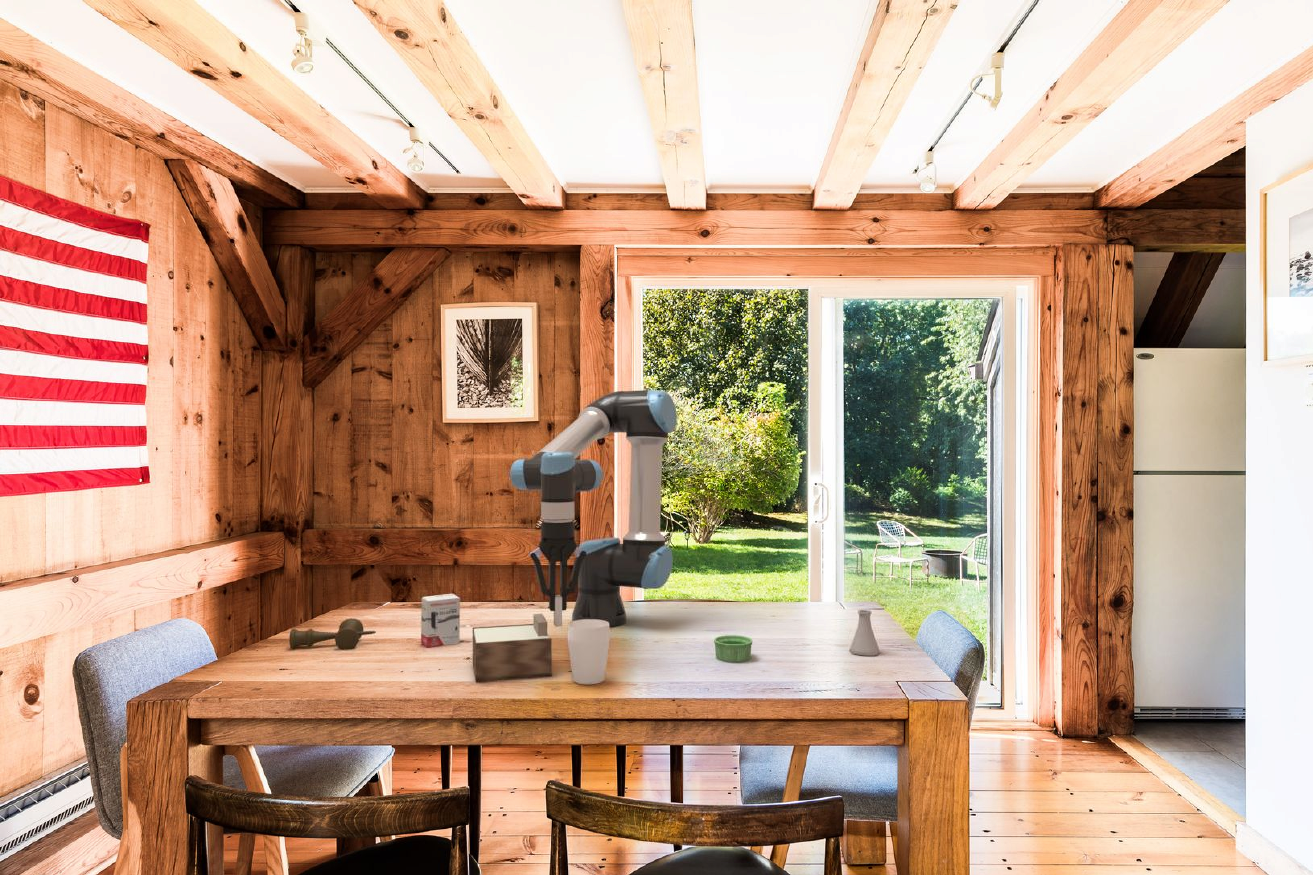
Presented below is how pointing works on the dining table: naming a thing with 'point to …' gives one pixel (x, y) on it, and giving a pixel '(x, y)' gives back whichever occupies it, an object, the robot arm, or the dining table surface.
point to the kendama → (331, 635)
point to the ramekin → (733, 648)
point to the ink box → (440, 620)
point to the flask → (864, 637)
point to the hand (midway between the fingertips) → (557, 625)
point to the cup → (588, 650)
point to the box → (512, 658)
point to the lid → (514, 631)
